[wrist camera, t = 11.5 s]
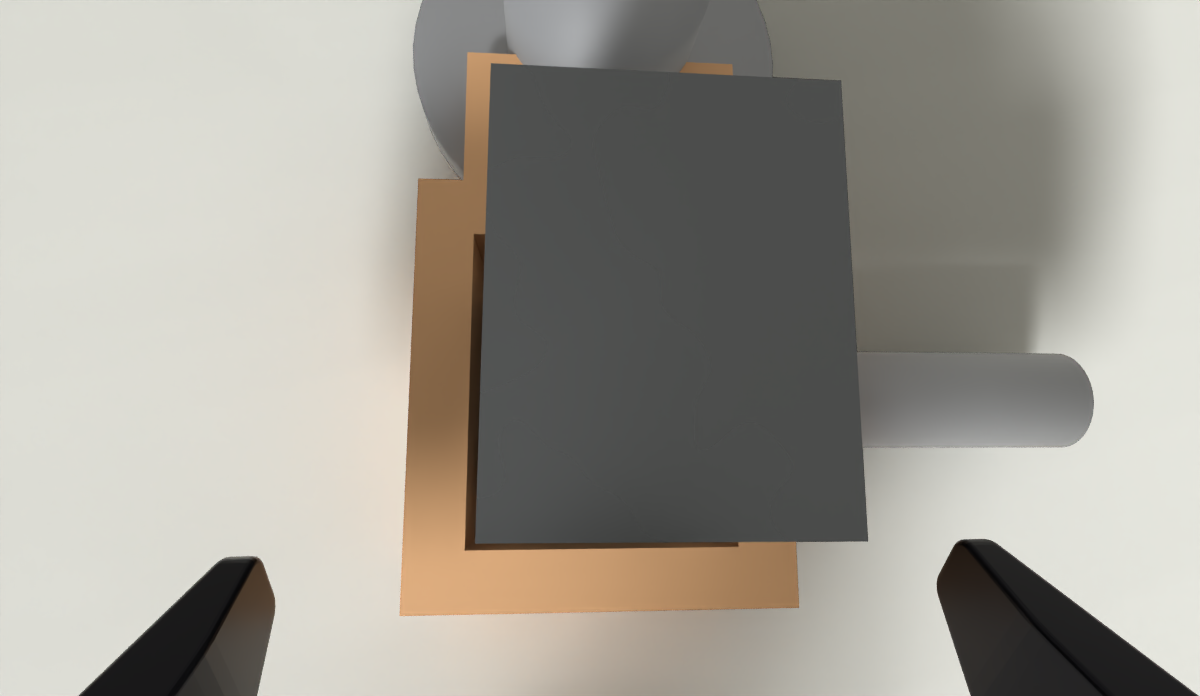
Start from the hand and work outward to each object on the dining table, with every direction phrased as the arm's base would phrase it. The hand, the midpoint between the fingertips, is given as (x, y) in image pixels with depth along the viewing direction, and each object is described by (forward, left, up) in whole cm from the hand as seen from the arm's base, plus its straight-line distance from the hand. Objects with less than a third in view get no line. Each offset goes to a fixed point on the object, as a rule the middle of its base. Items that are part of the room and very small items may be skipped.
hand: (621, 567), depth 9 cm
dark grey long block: (+3, +1, -9) cm, 10 cm away
